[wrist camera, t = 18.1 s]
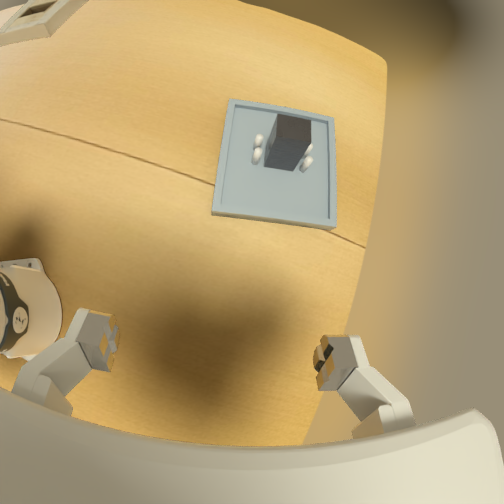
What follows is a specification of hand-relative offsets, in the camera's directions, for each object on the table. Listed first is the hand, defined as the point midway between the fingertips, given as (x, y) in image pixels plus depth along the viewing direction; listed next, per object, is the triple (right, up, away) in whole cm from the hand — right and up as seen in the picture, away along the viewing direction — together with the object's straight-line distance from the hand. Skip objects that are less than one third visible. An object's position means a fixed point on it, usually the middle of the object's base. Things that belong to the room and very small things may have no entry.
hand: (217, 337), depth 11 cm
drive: (+6, +19, +36) cm, 42 cm away
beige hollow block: (-70, +81, +39) cm, 114 cm away
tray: (+6, +19, +38) cm, 43 cm away
